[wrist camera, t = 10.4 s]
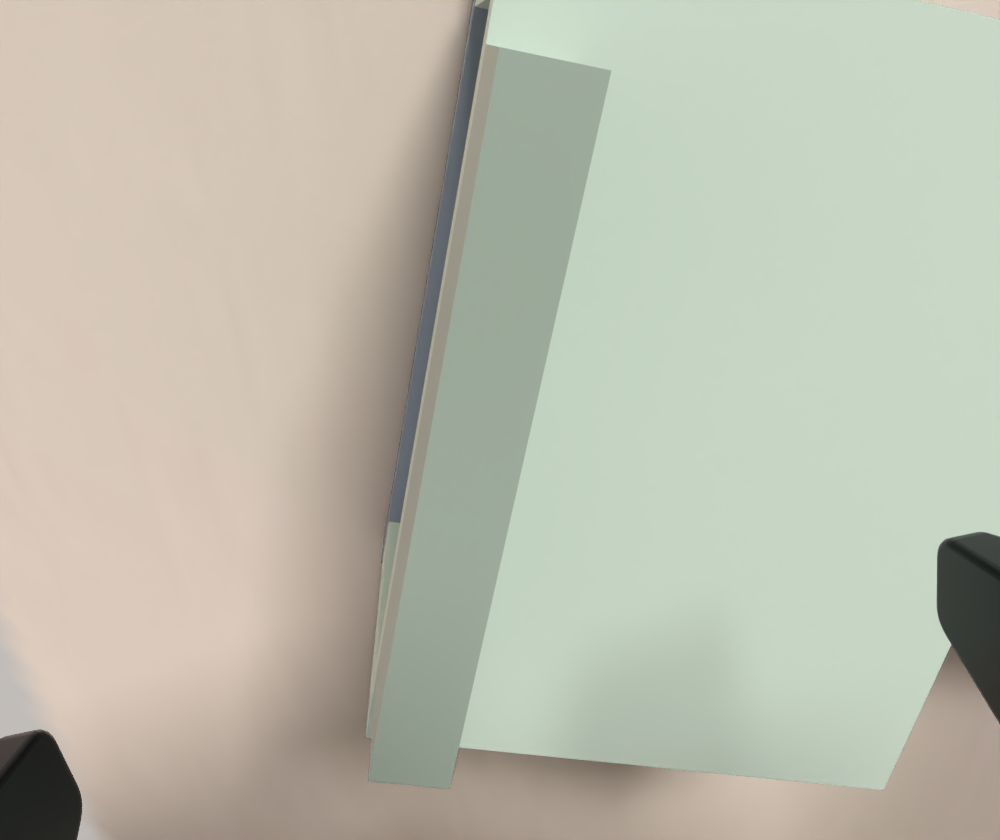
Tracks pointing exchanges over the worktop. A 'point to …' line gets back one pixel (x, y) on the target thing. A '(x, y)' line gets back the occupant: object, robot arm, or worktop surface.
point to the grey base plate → (438, 257)
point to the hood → (700, 391)
